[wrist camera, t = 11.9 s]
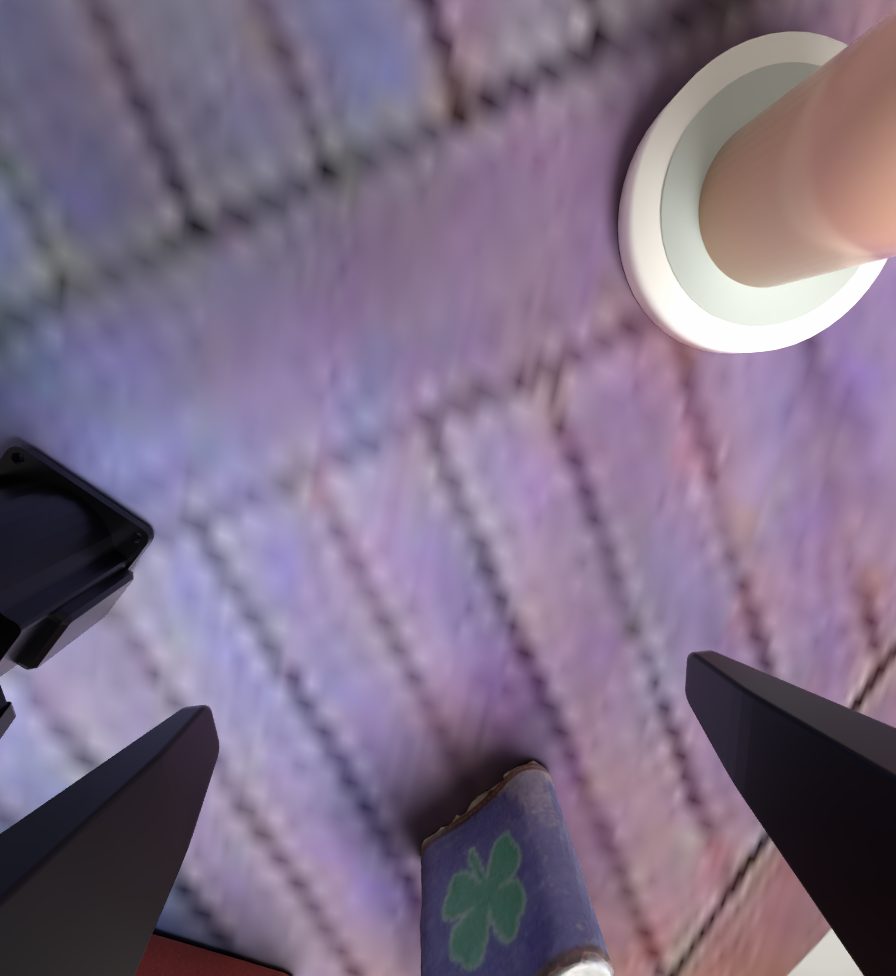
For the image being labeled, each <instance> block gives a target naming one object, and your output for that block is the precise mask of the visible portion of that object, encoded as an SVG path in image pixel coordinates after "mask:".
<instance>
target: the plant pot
mask: <svg viewBox="0 0 896 976" xmlns="http://www.w3.org/2000/svg"><path fill="white" fill-rule="evenodd" d="M135 976H289V975H287V974H286V973H283V972H280V971H276V970H273V969H269V968H266V967H263V966H259V965H256V964H253V963H250V962H246V961H243V960H240V959H236V958H233V957H229V956H226V955H223V954H219V953H216V952H213V951H209V950H206V949H202V948H199V947H195V946H192V945H189V944H185V943H182V942H178V941H175V940H171V939H168V938H165V937H161V936H158V935H154V934H152V936H151V938H150V940H149V943H148V945H147V947H146V950H145V952H144V954H143V957H142V959H141V962H140V964H139V966H138V969H137V971H136V973H135Z"/></svg>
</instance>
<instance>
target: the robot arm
mask: <svg viewBox="0 0 896 976" xmlns="http://www.w3.org/2000/svg"><path fill="white" fill-rule="evenodd" d="M20 454H22V455H23V456H24V459H25V460H24V462H23V461H22V460H21V459H20V457H19V455H20ZM136 532H137V533H140V534H141V535H142V537H143V540H140V539H138V538H137V536H136ZM153 538H154V534H153V532H152V530H151V529H150V528H149V527H148V526H147V525H145V524H144V523H142V522H141V521H139V520H138V519H136V518H135V517H133V516H132V515H130V514H129V513H127V512H126V511H125V510H123V509H122V508H120V507H119V506H117V505H116V504H114V503H113V502H111V501H110V500H108V499H107V498H105V497H104V496H102V495H101V494H99V493H98V492H96V491H95V490H93V489H92V488H91V487H89V486H88V485H86V484H85V483H83V482H82V481H80V480H79V479H77V478H76V477H74V476H73V475H71V474H70V473H68V472H67V471H65V470H64V469H62V468H61V467H59V466H58V465H57V464H55V463H54V462H52V461H51V460H49V459H48V458H46V457H45V456H43V455H42V454H40V453H39V452H37V451H36V450H34V449H33V448H31V447H29V446H25V445H21V446H15V447H11V448H9V449H8V450H7V451H6V452H5V454H4V455H3V457H2V458H1V460H0V676H2V675H3V674H4V673H6V672H7V671H9V670H10V669H11V668H13V667H14V666H16V665H17V664H18V665H20V666H21V667H23V668H25V669H27V670H29V669H34V668H38V667H39V666H41V665H42V664H43V663H44V662H46V661H47V660H48V659H50V658H51V657H52V656H54V655H55V654H56V653H58V652H59V651H60V650H61V649H63V648H64V647H65V646H67V645H68V644H69V643H71V642H72V641H73V640H75V639H76V638H77V637H78V636H80V635H81V634H82V633H84V632H85V631H86V630H88V629H89V628H90V627H92V626H93V625H94V624H95V623H97V622H98V621H99V620H101V619H102V618H103V617H104V616H105V615H106V614H107V613H108V612H109V610H110V609H111V608H112V606H113V605H114V604H115V602H116V601H117V600H118V599H119V597H120V596H121V595H122V593H123V592H124V591H125V589H126V588H127V587H128V586H129V584H130V583H131V582H132V580H133V572H132V571H130V570H131V568H132V567H133V566H134V564H135V563H136V562H137V560H138V559H139V558H140V556H141V555H142V554H143V553H144V551H145V550H146V549H147V547H148V546H149V545H150V543H151V542H152V540H153ZM685 691H686V697H687V700H688V702H689V704H690V706H691V708H692V710H693V712H694V713H695V715H696V717H697V719H698V721H699V722H700V724H701V726H702V728H703V730H704V731H705V733H706V735H707V737H708V739H709V740H710V742H711V744H712V746H713V748H714V749H715V751H716V753H717V755H718V757H719V758H720V760H721V762H722V764H723V766H724V768H725V769H726V771H727V773H728V774H729V776H730V778H731V779H732V781H733V783H734V784H735V786H736V787H737V789H738V791H739V792H740V794H741V795H742V797H743V798H744V800H745V801H746V803H747V804H748V806H749V807H750V809H751V810H752V811H753V813H754V814H755V816H756V817H757V819H758V820H759V822H760V823H761V825H762V826H763V828H764V829H765V831H766V832H767V834H768V835H769V837H770V838H771V839H772V841H773V842H774V844H775V845H776V847H777V848H778V850H779V851H780V853H781V854H782V856H783V857H784V859H785V860H786V862H787V863H788V865H789V866H790V867H791V869H792V870H793V872H794V873H795V875H796V876H797V878H798V879H799V881H800V882H801V884H802V885H803V887H804V888H805V890H806V891H807V893H808V894H809V896H810V897H811V898H812V900H813V901H814V903H815V904H816V906H817V907H818V909H819V910H820V912H821V913H822V915H823V916H824V918H825V919H826V921H827V922H828V924H829V925H830V926H831V928H832V929H833V931H834V932H835V934H836V935H837V937H838V938H839V940H840V941H841V943H842V944H843V946H844V947H845V949H846V950H847V951H848V953H849V954H850V956H851V957H852V959H853V960H854V962H855V963H856V965H857V966H858V967H859V969H860V970H861V972H862V974H863V975H864V976H896V728H894V727H892V726H889V725H887V724H885V723H882V722H880V721H877V720H875V719H873V718H870V717H868V716H866V715H863V714H861V713H858V712H856V711H854V710H851V709H849V708H847V707H844V706H842V705H840V704H837V703H835V702H832V701H830V700H828V699H825V698H823V697H821V696H818V695H816V694H813V693H811V692H809V691H806V690H804V689H802V688H799V687H797V686H795V685H792V684H790V683H787V682H785V681H783V680H780V679H778V678H776V677H773V676H771V675H769V674H766V673H764V672H761V671H759V670H757V669H754V668H752V667H750V666H747V665H745V664H743V663H740V662H738V661H735V660H733V659H731V658H728V657H726V656H724V655H721V654H719V653H717V652H714V651H699V652H692V653H690V654H689V655H688V658H687V668H686V685H685ZM15 717H16V714H15V711H14V709H13V706H12V703H11V702H6V699H5V696H4V694H3V691H2V688H1V685H0V739H1V737H2V736H3V734H4V733H5V731H6V730H7V729H8V727H9V726H10V724H11V723H12V721H13V720H14V719H15ZM218 753H219V739H218V735H217V731H216V727H215V723H214V719H213V714H212V711H211V709H210V707H209V706H207V705H199V706H190V707H185V708H182V709H181V710H179V711H178V712H176V713H175V714H174V715H172V716H171V717H169V718H168V719H166V720H165V721H163V722H162V723H161V724H159V725H158V726H156V727H155V728H153V729H152V730H150V731H149V732H148V733H146V734H145V735H143V736H142V737H140V738H139V739H137V740H136V741H134V742H133V743H132V744H130V745H129V746H127V747H126V748H124V749H123V750H121V751H120V752H119V753H117V754H116V755H114V756H113V757H111V758H110V759H108V760H107V761H105V762H104V763H103V764H101V765H100V766H98V767H97V768H95V769H94V770H92V771H91V772H90V773H88V774H87V775H85V776H84V777H82V778H81V779H79V780H78V781H76V782H75V783H74V784H72V785H71V786H69V787H68V788H66V789H65V790H63V791H62V792H61V793H59V794H58V795H56V796H55V797H53V798H52V799H50V800H49V801H48V802H46V803H45V804H43V805H42V806H40V807H39V808H37V809H36V810H34V811H33V812H32V813H30V814H29V815H27V816H26V817H24V818H23V819H21V820H20V821H19V822H17V823H16V824H14V825H13V826H11V827H10V828H8V829H7V830H5V831H4V832H3V833H1V834H0V976H135V973H136V971H137V969H138V966H139V964H140V962H141V959H142V957H143V954H144V952H145V950H146V947H147V945H148V943H149V940H150V938H151V936H152V933H153V931H154V929H155V926H156V924H157V921H158V919H159V917H160V914H161V912H162V910H163V907H164V905H165V903H166V900H167V898H168V895H169V893H170V891H171V888H172V886H173V884H174V881H175V879H176V877H177V874H178V872H179V869H180V867H181V865H182V862H183V860H184V857H185V855H186V852H187V850H188V847H189V844H190V841H191V838H192V835H193V833H194V829H195V826H196V823H197V820H198V817H199V814H200V811H201V808H202V804H203V801H204V798H205V795H206V792H207V789H208V786H209V783H210V780H211V776H212V773H213V770H214V767H215V764H216V761H217V758H218Z"/></svg>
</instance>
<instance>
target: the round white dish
mask: <svg viewBox="0 0 896 976" xmlns="http://www.w3.org/2000/svg"><path fill="white" fill-rule="evenodd" d="M847 46H848V45H846V44H844V43H843V42H840V41H838V40H835V39H833V38H830V37H828V36H824V35H819V34H814V33H810V32H791V31H788V32H780V33H772V34H767V35H764V36H760V37H757V38H753V39H750V40H748V41H746V42H743V43H741V44H739V45H737V46H735V47H732V48H730V49H729V50H727V51H726V52H724V53H723V54H721V55H719V56H718V57H716V58H715V59H713V60H712V61H711V62H709V63H708V64H707V65H706V66H705V67H703V68H702V69H701V70H700V71H699V72H697V73H696V74H695V75H694V76H693V77H692V79H691V80H690V81H689V82H688V83H687V84H686V85H685V86H684V87H683V88H682V89H681V90H680V91H679V92H678V94H677V95H676V96H675V97H674V98H673V99H672V100H671V101H670V102H669V103H668V104H667V106H666V107H665V108H664V109H663V110H662V111H661V112H660V113H659V114H658V116H657V117H656V119H655V120H654V121H653V123H652V124H651V125H650V127H649V128H648V129H647V131H646V133H645V135H644V136H643V138H642V140H641V142H640V143H639V145H638V147H637V149H636V151H635V153H634V156H633V158H632V160H631V163H630V165H629V168H628V171H627V174H626V178H625V181H624V184H623V188H622V194H621V199H620V204H619V216H618V240H619V249H620V255H621V261H622V265H623V269H624V272H625V275H626V279H627V281H628V284H629V286H630V288H631V290H632V293H633V295H634V297H635V298H636V300H637V301H638V303H639V305H640V306H641V308H642V310H643V311H644V312H645V313H646V314H647V316H648V317H649V318H650V319H651V320H652V322H653V323H654V324H656V325H657V326H658V327H659V328H660V329H661V330H662V331H663V332H665V333H666V334H668V335H669V336H671V337H672V338H674V339H675V340H677V341H678V342H681V343H683V344H685V345H687V346H689V347H692V348H695V349H698V350H702V351H705V352H712V353H720V354H736V353H750V352H762V351H769V350H775V349H780V348H783V347H787V346H790V345H794V344H796V343H798V342H801V341H803V340H805V339H808V338H810V337H812V336H814V335H815V334H817V333H819V332H820V331H822V330H824V329H826V328H827V327H828V326H830V325H831V324H832V323H834V322H835V321H837V320H838V319H839V318H841V317H842V316H843V315H844V314H845V313H846V312H847V311H848V310H849V309H850V308H851V307H852V306H854V305H855V304H856V303H857V301H858V300H859V299H860V298H861V297H862V296H863V294H864V293H865V292H866V291H867V290H868V289H869V287H870V286H871V284H872V283H873V282H874V280H875V279H876V277H877V276H878V274H879V273H880V271H881V270H882V268H883V266H884V264H885V262H886V261H887V259H888V258H886V259H882V260H879V261H875V262H871V263H867V264H863V265H859V266H855V267H851V268H847V269H843V270H839V271H835V272H831V273H827V274H823V275H819V276H815V277H811V278H807V279H803V280H799V281H795V282H791V283H787V284H784V285H780V286H775V287H768V288H757V287H751V286H746V285H743V284H740V283H738V282H736V281H734V280H732V279H730V278H729V277H728V276H726V275H725V274H724V273H723V272H722V271H720V270H719V269H718V268H717V266H716V265H715V264H714V262H713V261H712V260H711V258H710V256H709V254H708V253H707V251H706V248H705V246H704V243H703V240H702V236H701V232H700V226H699V201H700V194H701V190H702V185H703V182H704V179H705V176H706V173H707V171H708V169H709V167H710V165H711V163H712V161H713V159H714V158H715V156H716V154H717V153H718V151H719V150H720V149H721V147H722V146H723V145H724V144H725V142H726V141H727V140H728V139H729V138H730V137H731V136H732V135H733V134H734V133H736V132H737V131H738V130H739V129H741V128H742V127H743V126H744V125H746V124H747V123H748V122H750V121H751V120H752V119H753V118H755V117H756V116H757V115H759V114H760V113H761V112H763V111H764V110H765V109H766V108H768V107H769V106H770V105H772V104H773V103H774V102H776V101H777V100H778V99H779V98H781V97H782V96H783V95H785V94H786V93H787V92H789V91H790V90H791V89H792V88H794V87H795V86H796V85H798V84H799V83H800V82H802V81H803V80H804V79H805V78H807V77H808V76H809V75H811V74H812V73H813V72H815V71H816V70H817V69H818V68H820V67H821V66H822V65H824V64H825V63H826V62H828V61H829V60H830V59H831V58H833V57H834V56H835V55H837V54H838V53H839V52H841V51H842V50H843V49H844V48H846V47H847Z"/></svg>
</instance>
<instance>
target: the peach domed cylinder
mask: <svg viewBox="0 0 896 976" xmlns="http://www.w3.org/2000/svg"><path fill="white" fill-rule="evenodd" d="M699 226H700V232H701V236H702V240H703V243H704V246H705V248H706V251H707V253H708V254H709V256H710V258H711V260H712V261H713V262H714V264H715V265H716V266H717V268H718V269H719V270H720V271H722V272H723V273H724V274H725V275H726V276H728V277H729V278H730V279H732V280H734V281H736V282H738V283H740V284H743V285H746V286H751V287H757V288H768V287H775V286H780V285H784V284H787V283H791V282H795V281H799V280H803V279H807V278H811V277H815V276H819V275H823V274H827V273H831V272H835V271H839V270H843V269H847V268H851V267H855V266H859V265H863V264H867V263H871V262H875V261H879V260H882V259H886V258H890V257H894V256H896V9H895V10H894V11H893V12H891V13H890V14H889V15H887V16H886V17H885V18H883V19H882V20H881V21H880V22H878V23H877V24H876V25H874V26H873V27H872V28H870V29H869V30H868V31H867V32H865V33H864V34H863V35H861V36H860V37H859V38H857V39H856V40H855V41H854V42H852V43H851V44H850V45H848V46H847V47H846V48H844V49H843V50H842V51H841V52H839V53H838V54H837V55H835V56H834V57H833V58H831V59H830V60H829V61H828V62H826V63H825V64H824V65H822V66H821V67H820V68H818V69H817V70H816V71H815V72H813V73H812V74H811V75H809V76H808V77H807V78H805V79H804V80H803V81H802V82H800V83H799V84H798V85H796V86H795V87H794V88H792V89H791V90H790V91H789V92H787V93H786V94H785V95H783V96H782V97H781V98H779V99H778V100H777V101H776V102H774V103H773V104H772V105H770V106H769V107H768V108H766V109H765V110H764V111H763V112H761V113H760V114H759V115H757V116H756V117H755V118H753V119H752V120H751V121H750V122H748V123H747V124H746V125H744V126H743V127H742V128H741V129H739V130H738V131H737V132H736V133H734V134H733V135H732V136H731V137H730V138H729V139H728V140H727V141H726V142H725V144H724V145H723V146H722V147H721V149H720V150H719V151H718V153H717V154H716V156H715V158H714V159H713V161H712V163H711V165H710V167H709V169H708V171H707V173H706V176H705V179H704V182H703V185H702V190H701V194H700V201H699Z"/></svg>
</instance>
